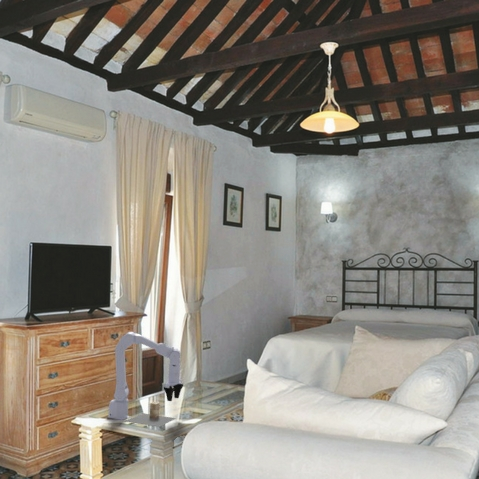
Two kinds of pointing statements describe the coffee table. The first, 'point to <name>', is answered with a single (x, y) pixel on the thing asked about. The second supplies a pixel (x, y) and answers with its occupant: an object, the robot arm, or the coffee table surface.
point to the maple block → (154, 409)
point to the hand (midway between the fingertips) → (173, 399)
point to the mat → (150, 420)
